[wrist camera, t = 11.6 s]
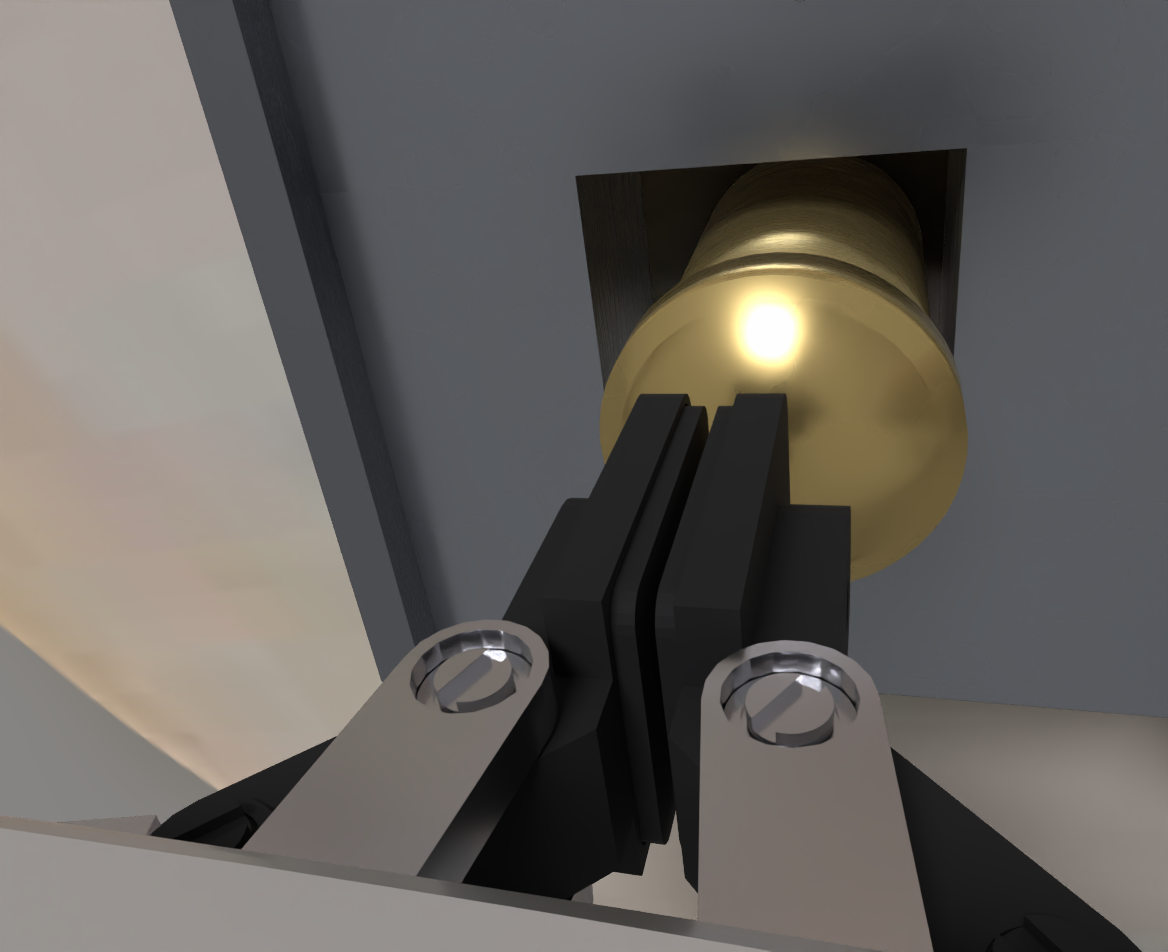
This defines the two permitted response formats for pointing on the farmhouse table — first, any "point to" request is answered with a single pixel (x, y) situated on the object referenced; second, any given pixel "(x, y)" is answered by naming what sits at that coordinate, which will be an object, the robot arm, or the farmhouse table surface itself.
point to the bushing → (816, 346)
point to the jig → (623, 288)
